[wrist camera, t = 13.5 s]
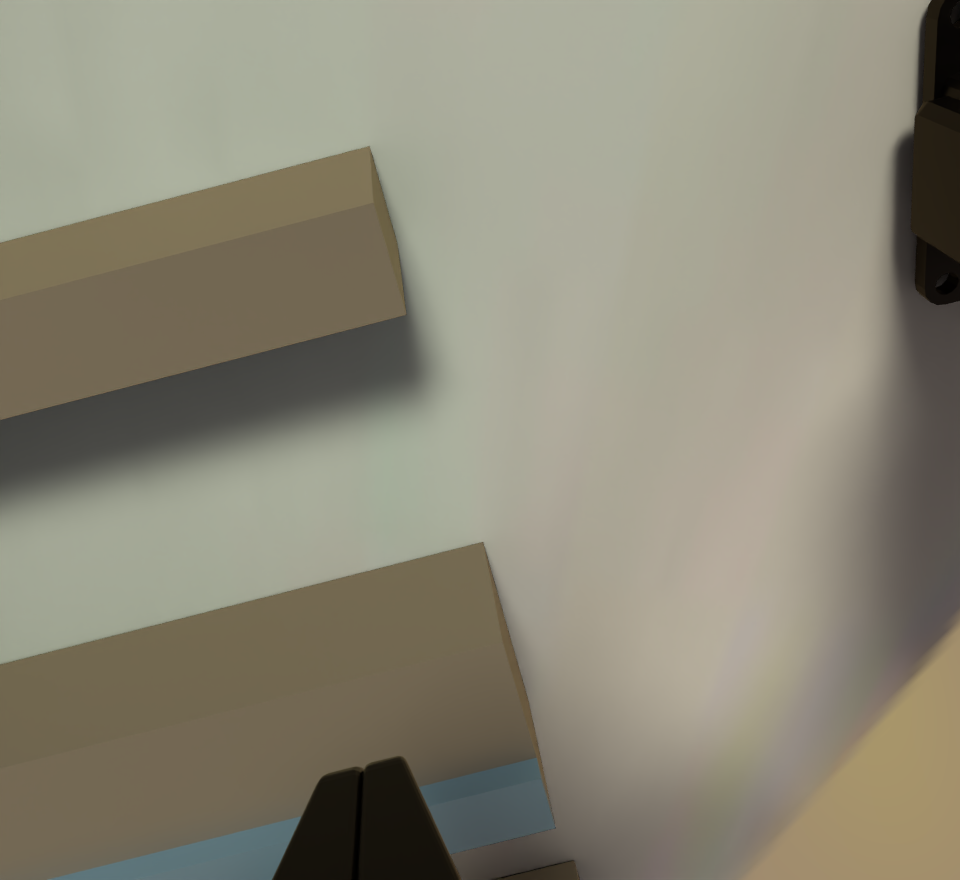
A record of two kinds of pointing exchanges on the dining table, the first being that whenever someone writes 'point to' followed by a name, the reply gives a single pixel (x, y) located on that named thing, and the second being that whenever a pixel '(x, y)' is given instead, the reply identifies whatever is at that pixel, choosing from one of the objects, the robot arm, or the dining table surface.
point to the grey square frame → (255, 624)
